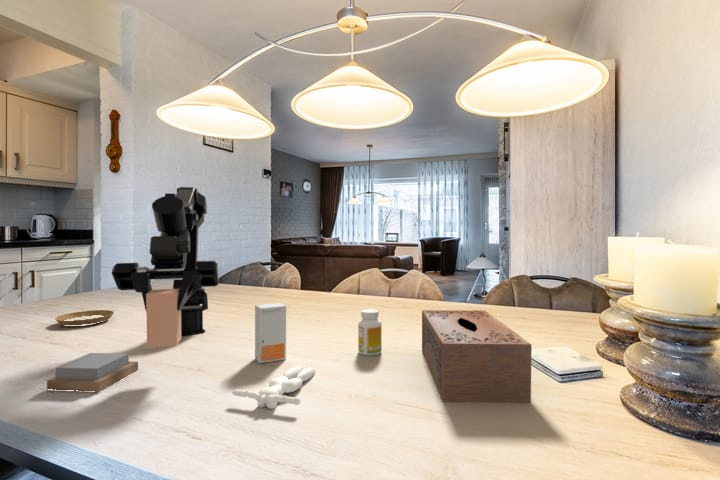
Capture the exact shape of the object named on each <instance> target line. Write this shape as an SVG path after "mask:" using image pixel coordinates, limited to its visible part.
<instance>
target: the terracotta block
mask: <svg viewBox="0 0 720 480" xmlns="http://www.w3.org/2000/svg"><path fill="white" fill-rule="evenodd" d="M179 293H180V289H173V288H164V289H163V288H162V289H159V288H158V289H152V291H150V292H148V293H147V294H146V310H145V313H146V348H147V349H152V348H163V347H165V348H166V347H173V346H174V347H175V346H178V345H179V343H180V341H181V339H182V336H181V310H177V303H178V297H179Z"/></svg>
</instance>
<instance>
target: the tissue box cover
mask: <svg viewBox="0 0 720 480" xmlns="http://www.w3.org/2000/svg"><path fill="white" fill-rule="evenodd" d="M421 352H422V354H423V357H424V359H425V360H424V361H425V362H426V364H427V367H428V369H429V372H430V374H431V377H432V379H433V382H434V384H435V387H436V389H437V392H438V394H439V396H440V399H441V401H442V403H477V404H478V403H479V404H481V403H485V404H486V403H487V404H488V403H489V404H490V403H491V404H493V403H495V404H498V403H499V404H531V403H532V344H531V343H530V341H527V340H526V339H524V338H523V337H522V336H521V335H519V334H518V333H516V332H515V331H514V330H512V329H511V328H509V327H508V326H506V325H505V324H504V323H503V322H501V321H500V320H498V319H497V318H496V317H494V316H493V315H492V314H490V313H489V312H488V311H486V310H483V309H482V310H477V309H476V310H474V309H473V310H463V309H462V310H458V309H452V310H450V309H444V310H442V309H441V310H437V309H436V310H435V309H433V310H432V309H428V310H427V309H423V310H421Z"/></svg>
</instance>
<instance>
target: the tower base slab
mask: <svg viewBox="0 0 720 480" xmlns="http://www.w3.org/2000/svg"><path fill="white" fill-rule="evenodd" d="M137 370H138V371H139V362H138V361H130V360H129V364H127V365H125V366H123V367H121V368H119V369H117V370H115V371H114V372H112V373H110V374H108V375H106V376H104V377H102V378H100V379H98V380H89V379H56V375H54V376H52V377H51V378H48V379H46V390H47V389H53V390H55V389H56V390H74V391H76V390H78V391H95V392H100V391H102V390H104V389H106V388H107V387H109V386H111V385H113V384H114V383H116V382H118V381H120V380H121V379H123V378H125V377H127V376H128V375H130V374H132V373H134V372H136V371H137ZM136 373H137V372H136ZM134 374H135V373H134ZM127 378H128V377H127ZM125 379H126V378H125ZM120 382H121V381H120ZM118 383H119V382H118ZM116 384H117V383H116ZM113 386H114V385H113ZM111 387H112V386H111ZM109 388H110V387H109ZM107 389H108V388H107ZM107 389H106V390H107ZM104 391H105V390H104ZM102 392H103V391H102ZM100 393H101V392H100Z"/></svg>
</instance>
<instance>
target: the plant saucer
mask: <svg viewBox="0 0 720 480" xmlns="http://www.w3.org/2000/svg"><path fill="white" fill-rule="evenodd" d="M114 314H115V311H114V310H109V309H95V310H84V311H76V312H71V313H66V314H62V315H58V316H57V317H55V318H54V320H55V321H56V323H59V324H60V325H61V324H63V325H82V324H91V323H97V322H101V321H105V320H107V321H108V320H109V319H111V317H113V315H114ZM92 315H102V316H104V317H99V318H93V319H85V320H74V321H64V320H67V319H71V318H75V317H82V316H92ZM63 325H62V326H63Z"/></svg>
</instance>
